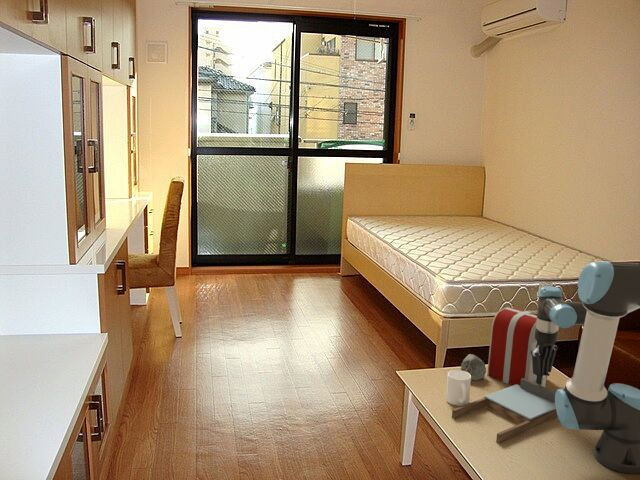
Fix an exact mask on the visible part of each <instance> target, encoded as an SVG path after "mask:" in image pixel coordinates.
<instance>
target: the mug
mask: <svg viewBox="0 0 640 480" xmlns="http://www.w3.org/2000/svg"><path fill="white" fill-rule="evenodd" d="M471 382H472V380H471V375H470V374H469V373H468V372H465V371H461V369H460V370H459V369H456V370H455V369H454V370H450V371H448V372H447V379H446V393H445V400H446V402H447V403H448V404H450V405H452V406H455V407H456V406H457V407H461V406H463V405H466V404H469V403H470V395H471V394H470V393H471V384H472V383H471Z"/></svg>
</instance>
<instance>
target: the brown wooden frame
mask: <svg viewBox="0 0 640 480" xmlns="http://www.w3.org/2000/svg"><path fill="white" fill-rule="evenodd" d="M483 408H487V409H488V410H491V411H493V412H494V413H496V414H497V415H500V416H502V417H504V418H506V419H508V420H510V421H512V422H514V423H516V424H517V425H514V426H511V427H509V428H506V429H504V430H502V431H500V432H497V433H496V439H495V443H497V444H500V443H503V442H505V441H508V440H509V439H512V438H514V437H517V436H519V435H521V434H524V433H526V432H527V431H530V430H532V429H534V428H537V427H539V426H542V425H543V424H546V423H548V422H551V421H553V420H555V419H557V418H558V415H557V411H556V409H555V410H553V411H550V412H548V413H546V414H543V415H541V416H539V417H536V418H534V419H532V420H529V419H527V418H525V417H523V416H521V415H519V414H517V413H515V412H513V411H511V410H509V409H507V408H505V407H503V406H500V405H498V404H496V403H494V402H492V401H490V400H488V399H486V398H484V397H483V398H480V399H478V400H475V401H473V402H468V404H466V405H463V406H457V407H455V408H453V409H452V411H451V415H452V416H451V418H452V419H456V418H457V419H458V418H460V417H463V416H465V415H468V414H470V413H473V412H476V411H478V410H481V409H483ZM558 419H559V418H558Z"/></svg>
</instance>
